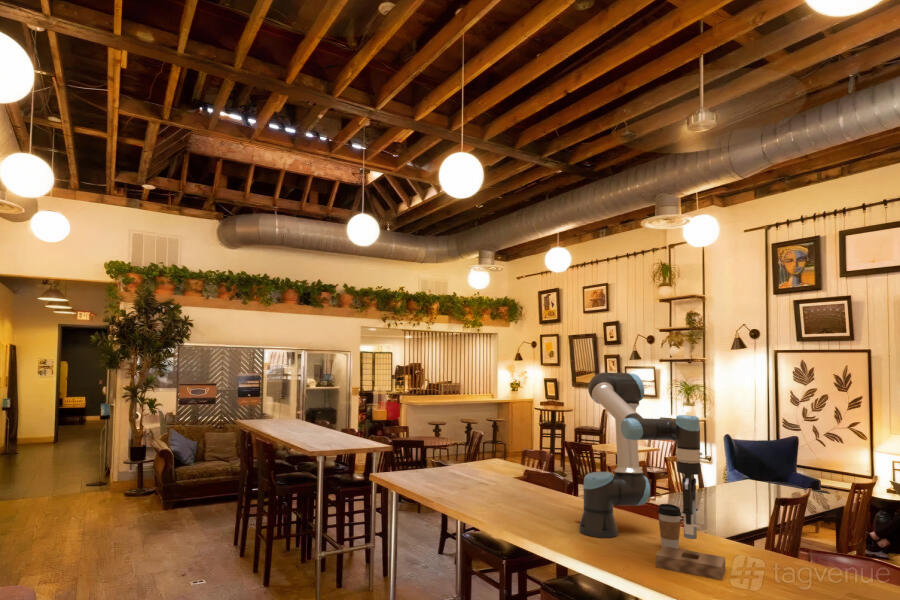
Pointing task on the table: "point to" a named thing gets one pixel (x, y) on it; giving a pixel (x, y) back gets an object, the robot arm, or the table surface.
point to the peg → (693, 523)
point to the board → (691, 562)
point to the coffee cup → (669, 525)
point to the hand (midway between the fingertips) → (690, 532)
